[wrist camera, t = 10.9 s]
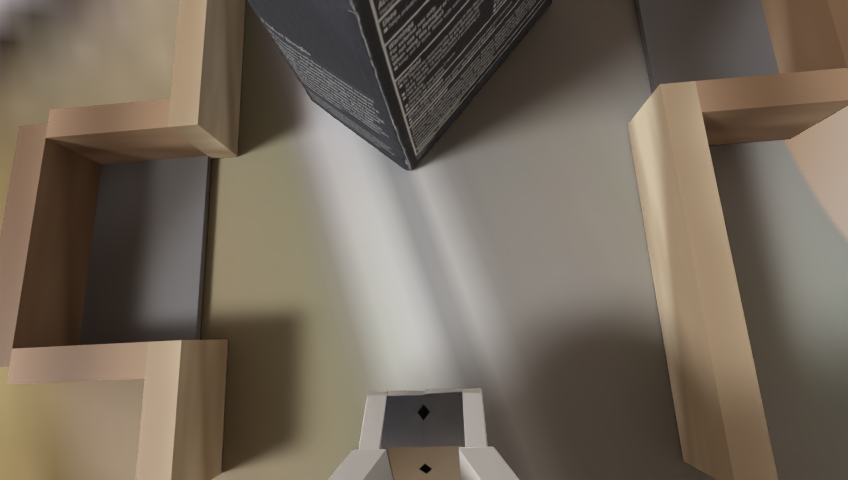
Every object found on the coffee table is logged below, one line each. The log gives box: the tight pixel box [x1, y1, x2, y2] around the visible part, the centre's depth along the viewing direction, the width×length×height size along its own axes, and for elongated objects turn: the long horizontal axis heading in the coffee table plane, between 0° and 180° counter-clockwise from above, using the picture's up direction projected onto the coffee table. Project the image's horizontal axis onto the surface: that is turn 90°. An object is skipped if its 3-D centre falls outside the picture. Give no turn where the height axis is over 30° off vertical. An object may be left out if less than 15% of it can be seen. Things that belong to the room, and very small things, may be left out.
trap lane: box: [0, 0, 848, 480], centre depth 17 cm, size 32×25×3 cm
